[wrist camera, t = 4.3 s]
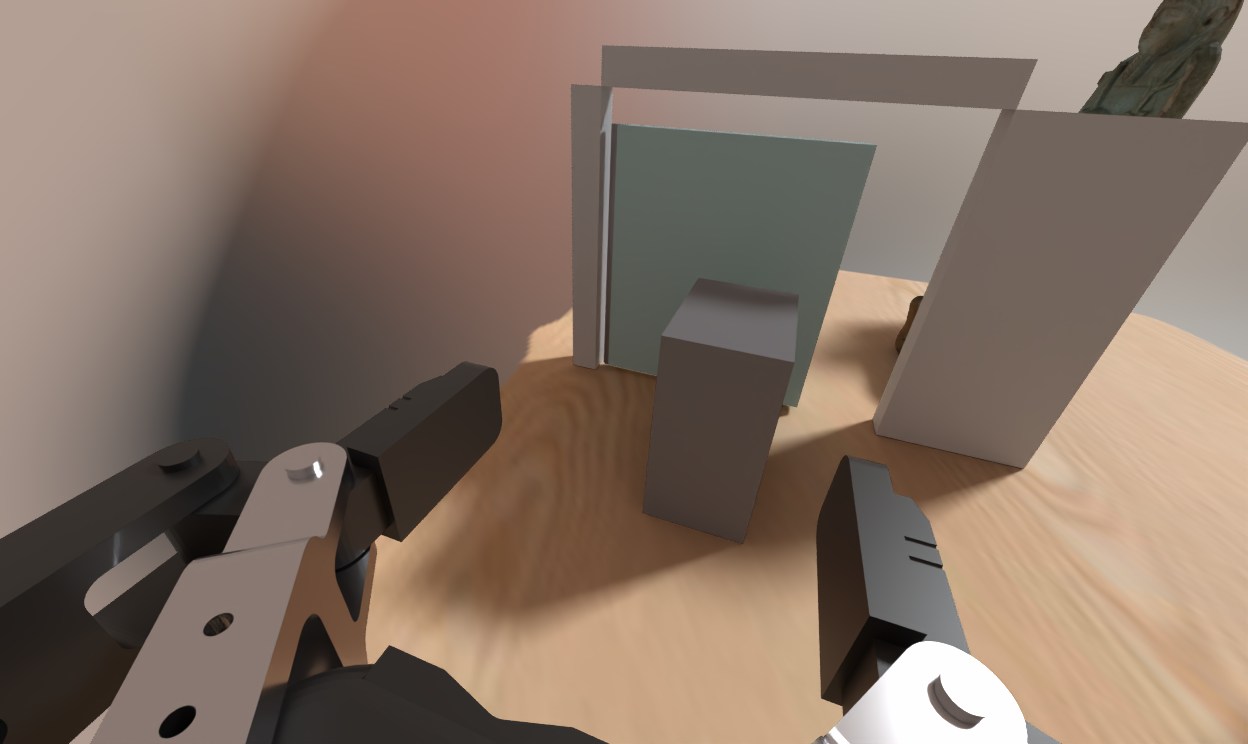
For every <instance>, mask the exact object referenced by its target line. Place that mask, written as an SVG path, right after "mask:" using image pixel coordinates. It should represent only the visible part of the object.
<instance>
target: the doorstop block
mask: <svg viewBox="0 0 1248 744" xmlns="http://www.w3.org/2000/svg"><path fill="white" fill-rule="evenodd" d="M798 302H799V294H794V293H788V292H782V291H776V290H770V289H764V288H757V287H751V286H745V285H739V284H733V283H727V282H721V281H715V280H709V279H703V278H698V280H697V281H696V283H695V284H694V286H693V287H692V289H691V290H690V292H689V293H688V295H687V297H686V298H685V300H684V301H683V303H682V304H681V306H680V307H679V309H678V310H677V312H676V313H675V315H674V316H673V318H672V320H671V321H670V323H669V324H668V326H667V327H666V329H665V330H664V332H663V333H662V335H661V342H660V352H659V361H658V371H657V380H656V389H655V399H654V408H653V418H652V427H651V437H650V446H649V456H648V465H647V475H646V484H645V494H644V503H643V513H644V514H647V515H650V516H654V517H657V518H660V519H663V520H667V521H670V522H673V523H676V524H679V525H683V526H686V527H689V528H692V529H696V530H699V531H702V532H705V533H708V534H712V535H715V536H718V537H721V538H725V539H728V540H731V541H734V542H737V543H741V544H743V541H744V538H745V534H746V531H747V527H748V524H749V520H750V517H751V513H752V510H753V506H754V503H755V499H756V496H757V492H758V489H759V485H760V482H761V478H762V475H763V471H764V468H765V464H766V461H767V457H768V454H769V450H770V447H771V443H772V440H773V436H774V433H775V429H776V426H777V422H778V419H779V415H780V412H781V408H782V405H783V401H784V398H785V394H786V391H787V387H788V384H789V380H790V377H791V373H792V370H793V366H794V363H795V348H796V332H797V317H798Z"/></svg>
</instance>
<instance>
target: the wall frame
mask: <svg viewBox="0 0 1248 744" xmlns="http://www.w3.org/2000/svg"><path fill="white" fill-rule="evenodd" d="M1036 62H1037V59H1011V58H979V57H948V56H915V55H885V54H854V53H852V54H851V53H821V52H790V51H788V52H787V51H759V50H758V51H757V50H728V49H697V48H694V49H693V48H666V47H634V46H602V76H601V86H592V85H574V84H572V85H571V131H572V132H571V139H572V140H571V141H572V269H573V271H572V272H573V274H572V275H573V364H574V365H578V366H582V367H587V368H591V369H596V368H597V367H598V365H599V364H600V363H601V362H602V360H603V359H604V337H605V306H606V276H607V245H608V215H609V184H610V154H611V124H612V102H613V87H620V88H638V89H655V90H675V91H691V92H709V93H726V94H743V95H745V94H746V95H761V96H778V97H796V98H813V99H831V100H849V101H866V102H883V103H901V104H902V103H903V104H919V105H936V106H954V107H971V108H989V109H1002V111H1001V113H1000V115H999V118H998V120H997V122H996V125H995V127H994V130H993V132H992V134H991V137H990V139H989V141H988V144H987V146H986V149H985V151H984V153H983V156H982V158H981V161H980V163H979V165H978V168H977V170H976V173H975V175H974V177H973V180H972V182H971V185H970V187H969V189H968V192H967V194H966V196H965V199H964V201H963V204H962V206H961V208H960V211H959V213H958V216H957V218H956V220H955V223H954V225H953V227H952V230H951V233H950V235H949V237H948V239H947V242H946V244H945V247H944V249H943V251H942V254H941V256H940V259H939V261H938V263H937V266H936V268H935V271H934V273H933V275H932V278H931V280H930V282H929V285H928V287H927V290H926V292H925V294H924V297H923V299H922V302H921V304H920V306H919V309H918V311H917V314H916V316H915V318H914V321H913V323H912V325H911V328H910V330H909V333H908V335H907V337H906V340H905V342H904V345H903V347H902V349H901V352H900V354H899V357H898V359H897V361H896V364H895V366H894V368H893V371H892V373H891V376H890V378H889V380H888V383H887V385H886V388H885V390H884V392H883V395H882V397H881V400H880V402H879V404H878V407H877V409H876V411H875V414H874V416H873V424H874V429H875V434H876V435H880V436H885V437H889V438H893V439H898V440H902V441H906V442H910V443H915V444H919V445H923V446H928V447H932V448H936V449H941V450H945V451H949V452H954V453H958V454H962V455H967V456H971V457H975V458H980V459H984V460H988V461H993V462H997V463H1001V464H1006V465H1010V466H1014V467H1018V468H1023V469H1024V468H1025V467H1026V465H1027V464H1028V462H1029V461H1030V459H1031V458H1032V456H1033V455H1034V453H1035V452H1036V450H1037V449H1038V448H1039V446H1040V445H1041V443H1042V442H1043V440H1044V439H1045V437H1046V436H1047V434H1048V433H1049V431H1050V430H1051V428H1052V427H1053V426H1054V424H1055V423H1056V421H1057V420H1058V418H1059V417H1060V415H1061V414H1062V412H1063V411H1064V409H1065V408H1066V407H1067V405H1068V404H1069V402H1070V401H1071V399H1072V398H1073V396H1074V395H1075V393H1076V392H1077V390H1078V389H1079V388H1080V386H1081V385H1082V383H1083V382H1084V380H1085V379H1086V377H1087V376H1088V374H1089V373H1090V371H1091V370H1092V368H1093V367H1094V366H1095V364H1096V363H1097V361H1098V360H1099V358H1100V357H1101V355H1102V354H1103V352H1104V351H1105V349H1106V348H1107V347H1108V345H1109V344H1110V342H1111V341H1112V339H1113V338H1114V336H1115V335H1116V333H1117V332H1118V330H1119V329H1120V327H1121V326H1122V325H1123V323H1124V322H1125V320H1126V319H1127V317H1128V316H1129V314H1130V313H1131V311H1132V310H1133V308H1134V307H1135V306H1136V304H1137V303H1138V301H1139V300H1140V298H1141V297H1142V295H1143V294H1144V292H1145V291H1146V289H1147V288H1148V286H1149V285H1150V284H1151V282H1152V281H1153V279H1154V278H1155V276H1156V275H1157V273H1158V272H1159V270H1160V269H1161V267H1162V266H1163V265H1164V263H1165V261H1166V260H1167V258H1168V257H1169V255H1170V254H1171V253H1172V251H1173V250H1174V248H1175V247H1176V245H1177V244H1178V243H1179V241H1180V239H1181V238H1182V237H1183V235H1184V234H1185V232H1186V231H1187V229H1188V228H1189V226H1190V225H1191V224H1192V222H1193V221H1194V219H1195V218H1196V216H1197V215H1198V213H1199V211H1200V210H1201V209H1202V207H1203V206H1204V204H1205V203H1206V202H1207V200H1208V199H1209V197H1210V196H1211V194H1212V193H1213V191H1214V190H1215V188H1216V187H1217V185H1218V184H1219V183H1220V181H1221V180H1222V178H1223V177H1224V175H1225V174H1226V172H1227V171H1228V169H1229V168H1230V166H1231V165H1232V164H1233V162H1234V161H1235V159H1236V158H1237V156H1238V155H1239V153H1240V152H1241V150H1242V149H1243V147H1244V146H1245V144H1246V143H1247V142H1248V123H1242V122H1226V121H1207V120H1190V119H1189V120H1188V119H1173V118H1155V117H1138V116H1120V115H1102V114H1085V113H1067V112H1048V111H1032V110H1016V109H1017V106H1018V104H1019V101H1020V99H1021V97H1022V94H1023V92H1024V90H1025V88H1026V86H1027V83H1028V81H1029V79H1030V76H1031V74H1032V72H1033V69H1034V67H1035V65H1036Z"/></svg>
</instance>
